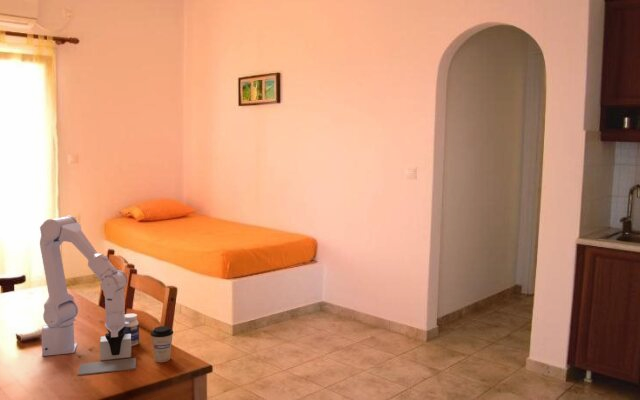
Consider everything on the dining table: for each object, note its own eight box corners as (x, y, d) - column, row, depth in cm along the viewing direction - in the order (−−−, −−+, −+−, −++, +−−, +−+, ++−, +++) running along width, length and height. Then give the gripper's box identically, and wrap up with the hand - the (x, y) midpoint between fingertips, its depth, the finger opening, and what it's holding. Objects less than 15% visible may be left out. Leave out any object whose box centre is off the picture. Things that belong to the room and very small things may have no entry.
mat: (77, 375, 157) (77, 374, 157) (80, 365, 165) (80, 363, 164) (135, 369, 162) (135, 367, 162) (135, 359, 170) (135, 357, 169)
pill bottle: (133, 347, 179) (132, 318, 178) (118, 346, 180) (117, 317, 179) (142, 341, 185) (141, 313, 184) (127, 340, 186) (126, 312, 185)
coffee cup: (153, 355, 173) (153, 325, 172) (175, 354, 173) (175, 324, 172) (148, 364, 166) (148, 332, 165) (171, 363, 166) (171, 332, 165)
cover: (100, 360, 168) (100, 341, 168) (101, 354, 173) (101, 336, 172) (130, 357, 171) (130, 338, 170) (131, 351, 176) (130, 333, 175)
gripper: (127, 316, 165) (128, 358, 166) (128, 302, 178) (129, 342, 180) (103, 318, 163) (104, 361, 164) (106, 304, 176) (107, 344, 178)
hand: (116, 351), depth 172 cm, fingers closed on cover, 5 cm apart
